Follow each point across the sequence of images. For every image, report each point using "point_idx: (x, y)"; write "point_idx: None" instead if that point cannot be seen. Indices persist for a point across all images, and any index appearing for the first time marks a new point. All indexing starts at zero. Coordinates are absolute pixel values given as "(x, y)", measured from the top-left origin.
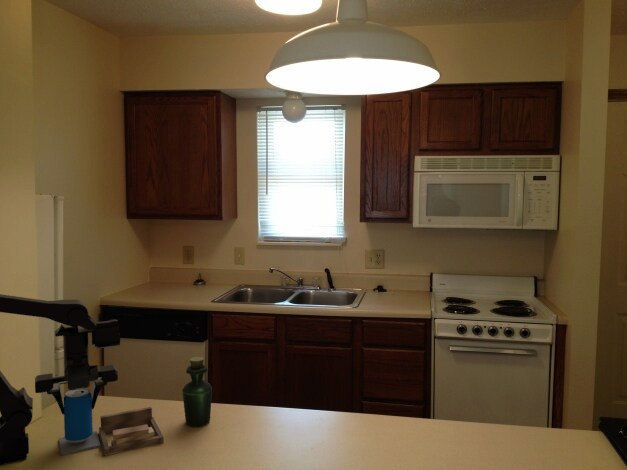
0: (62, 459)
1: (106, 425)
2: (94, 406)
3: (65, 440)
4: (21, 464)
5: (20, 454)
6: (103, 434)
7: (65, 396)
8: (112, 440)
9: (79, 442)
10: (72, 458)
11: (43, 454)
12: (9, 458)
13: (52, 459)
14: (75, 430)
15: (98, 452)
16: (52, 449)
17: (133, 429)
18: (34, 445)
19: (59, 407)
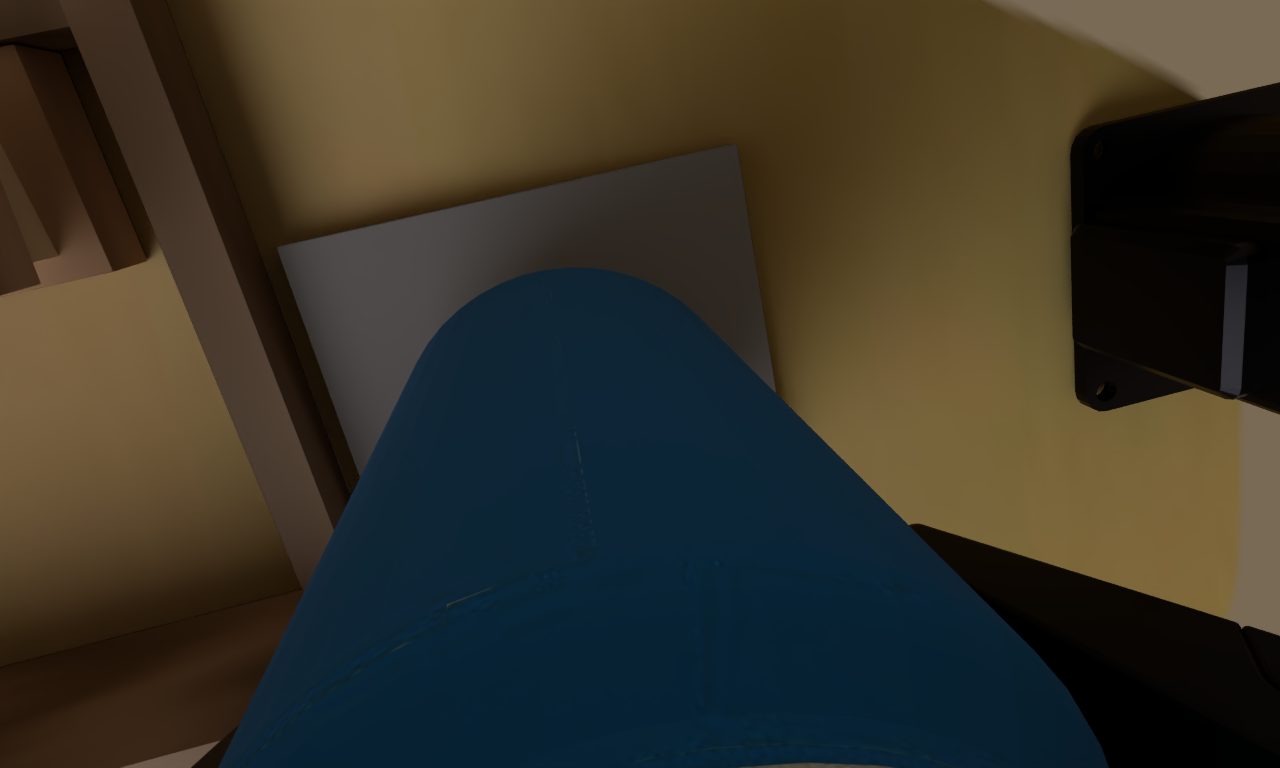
0: (695, 27)
1: (267, 652)
2: (227, 736)
3: None
4: (1106, 46)
5: (1159, 180)
6: (268, 453)
7: None
8: (87, 254)
9: None
10: (580, 15)
11: (911, 230)
12: (1258, 114)
13: (807, 66)
14: (600, 295)
15: (273, 90)
16: (833, 329)
17: None
18: (1008, 464)
19: (1091, 579)
